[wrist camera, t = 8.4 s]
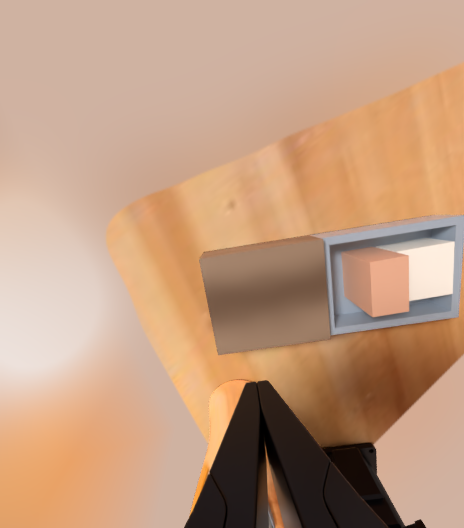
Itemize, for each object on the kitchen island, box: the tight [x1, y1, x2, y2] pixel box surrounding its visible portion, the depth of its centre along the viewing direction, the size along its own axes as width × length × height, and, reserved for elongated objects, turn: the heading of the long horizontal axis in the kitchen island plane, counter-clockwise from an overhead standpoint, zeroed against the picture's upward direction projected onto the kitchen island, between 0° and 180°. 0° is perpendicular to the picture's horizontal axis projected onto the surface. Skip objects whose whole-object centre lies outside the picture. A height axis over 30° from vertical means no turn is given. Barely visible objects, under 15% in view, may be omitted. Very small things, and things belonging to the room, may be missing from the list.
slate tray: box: [310, 215, 464, 335], centre depth 18 cm, size 8×10×2 cm
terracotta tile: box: [341, 247, 409, 317], centre depth 17 cm, size 4×4×2 cm
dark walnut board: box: [199, 235, 330, 355], centre depth 18 cm, size 8×9×3 cm
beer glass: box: [189, 380, 284, 528], centre depth 15 cm, size 7×7×15 cm
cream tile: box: [376, 238, 455, 301], centre depth 17 cm, size 4×4×2 cm
